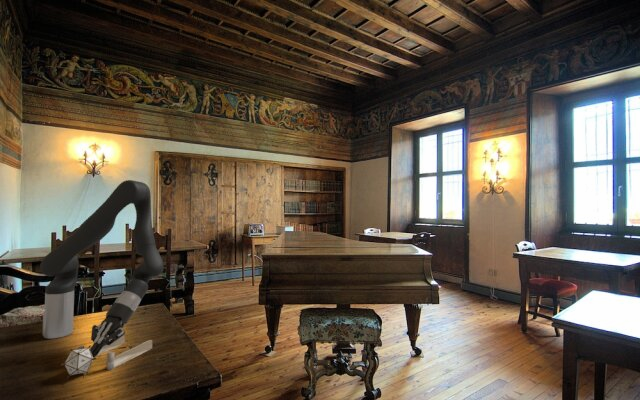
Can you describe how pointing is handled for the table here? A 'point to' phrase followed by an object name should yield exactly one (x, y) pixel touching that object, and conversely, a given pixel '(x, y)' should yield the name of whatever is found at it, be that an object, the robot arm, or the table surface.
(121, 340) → the chute
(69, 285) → the robot arm
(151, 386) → the table surface
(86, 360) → the game die
